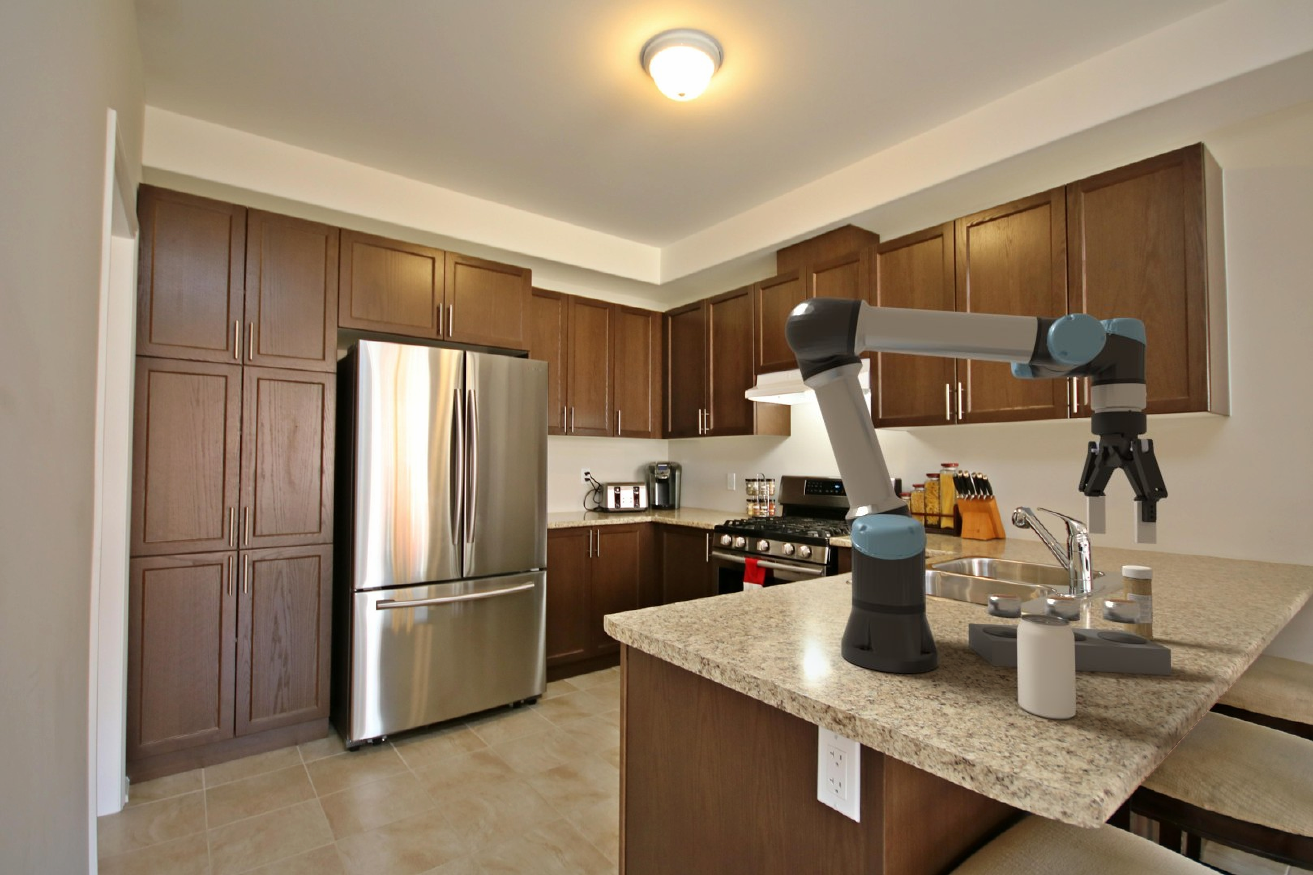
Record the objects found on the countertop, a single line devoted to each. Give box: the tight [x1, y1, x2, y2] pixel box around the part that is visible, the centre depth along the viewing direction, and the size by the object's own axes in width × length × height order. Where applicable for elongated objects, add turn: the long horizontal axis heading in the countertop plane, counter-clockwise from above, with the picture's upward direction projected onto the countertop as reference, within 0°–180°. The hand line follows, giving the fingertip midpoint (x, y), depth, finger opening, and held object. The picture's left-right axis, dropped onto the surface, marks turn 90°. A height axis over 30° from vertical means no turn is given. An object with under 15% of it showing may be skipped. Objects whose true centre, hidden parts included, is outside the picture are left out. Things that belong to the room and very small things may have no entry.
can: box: [1017, 613, 1077, 721], centre depth 82 cm, size 6×6×12 cm
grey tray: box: [968, 622, 1172, 676], centre depth 104 cm, size 26×11×4 cm, turn 81°
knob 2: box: [1101, 597, 1140, 624], centre depth 102 cm, size 5×5×3 cm
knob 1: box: [987, 593, 1023, 620], centre depth 105 cm, size 5×5×3 cm
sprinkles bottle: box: [1121, 564, 1154, 641], centre depth 117 cm, size 5×5×14 cm
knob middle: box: [1043, 595, 1081, 622], centre depth 104 cm, size 5×5×3 cm
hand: (1119, 538), depth 104 cm, fingers open, 13 cm apart
